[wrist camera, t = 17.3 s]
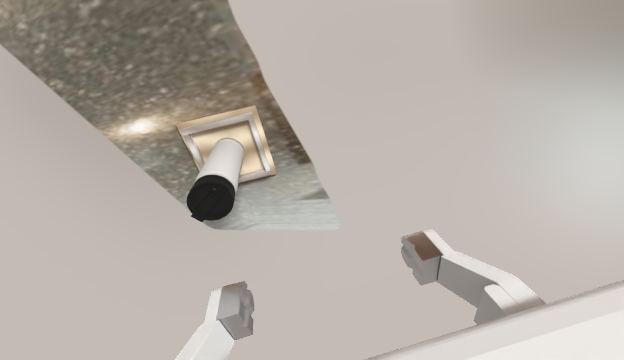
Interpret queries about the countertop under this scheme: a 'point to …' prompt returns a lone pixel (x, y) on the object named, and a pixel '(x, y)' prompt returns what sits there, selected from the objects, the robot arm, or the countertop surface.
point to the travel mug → (217, 181)
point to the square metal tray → (231, 125)
